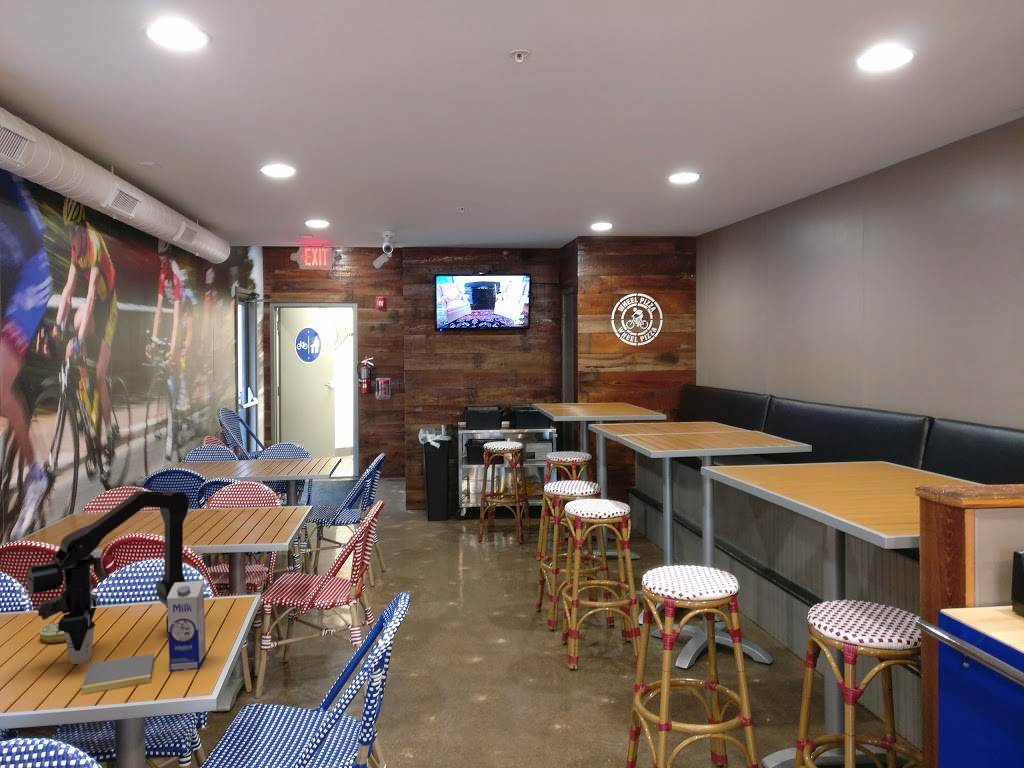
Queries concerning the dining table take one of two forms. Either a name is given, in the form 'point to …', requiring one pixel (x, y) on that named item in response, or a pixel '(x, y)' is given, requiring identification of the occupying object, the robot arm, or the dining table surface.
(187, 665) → the milk carton
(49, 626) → the decorated donut
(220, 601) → the dining table surface
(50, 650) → the dining table surface
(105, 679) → the dock
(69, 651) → the coffee cup
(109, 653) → the dining table surface
